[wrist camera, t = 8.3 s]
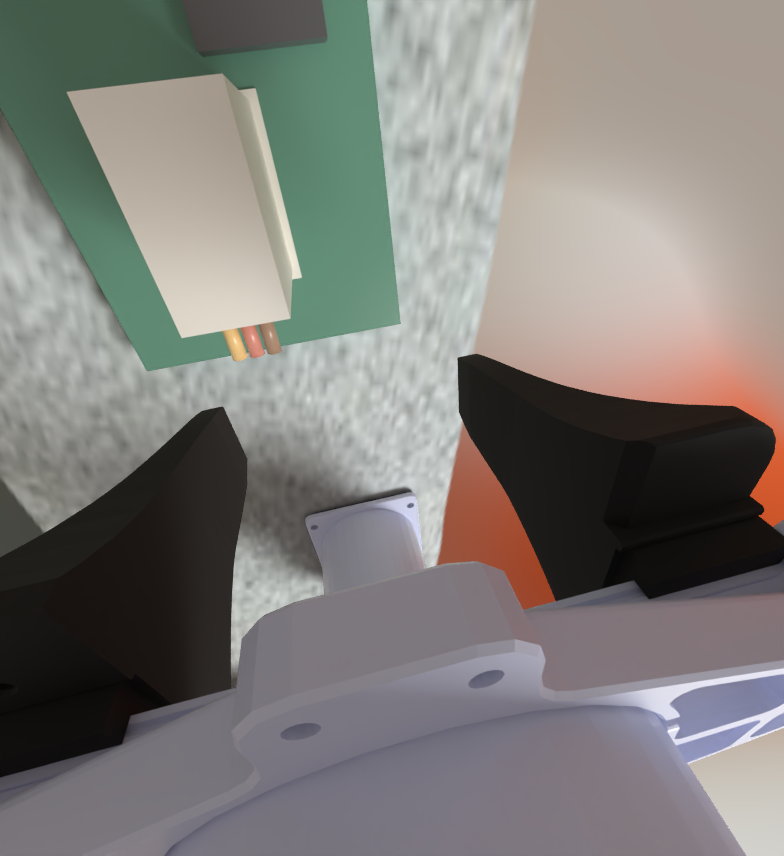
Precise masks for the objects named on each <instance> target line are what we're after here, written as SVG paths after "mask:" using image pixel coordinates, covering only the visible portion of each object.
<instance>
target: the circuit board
mask: <svg viewBox="0 0 784 856" xmlns="http://www.w3.org/2000/svg"><path fill="white" fill-rule="evenodd" d="M221 73H222V74H223V75H224V76H225V77H226V78H227V79H228V80H229V81H230V82H231V83H232V84H233V85H234V86H235V87H236V88H237V89H238V90H239V91H240V92H241V93H242V94H243V95H244V96H245V97H246V98H247V99H248V100H249V101H250V104H251V108H252V112H253V116H254V120H255V124H256V128H257V132H258V136H259V140H260V143H261V147H262V151H263V155H264V159H265V163H266V167H267V171H268V175H269V179H270V183H271V187H272V191H273V195H274V198H275V202H276V206H277V210H278V214H279V218H280V222H281V226H282V230H283V234H284V238H285V242H286V246H287V250H288V253H289V257H290V261H291V265H292V269H293V273H292V296H291V319H286V320H281V321H275V322H273V323H274V326H275V329H276V333H277V336H278V339H279V342H280V346H285V345H290V344H295V343H301V342H306V341H311V340H317V339H322V338H328V337H333V336H338V335H344V334H349V333H354V332H360V331H365V330H370V329H376V328H381V327H386V326H392V325H397V324H401V323H400V313H399V304H398V294H397V285H396V275H395V265H394V256H393V246H392V237H391V227H390V218H389V208H388V198H387V189H386V179H385V170H384V160H383V151H382V141H381V131H380V122H379V112H378V103H377V93H376V84H375V74H374V64H373V55H372V45H371V36H370V26H369V16H368V7H367V0H0V109H1V111H2V113H3V114H4V116H5V118H6V120H7V122H8V123H9V125H10V127H11V129H12V130H13V132H14V134H15V136H16V138H17V139H18V141H19V143H20V145H21V147H22V148H23V150H24V152H25V154H26V156H27V157H28V159H29V161H30V163H31V164H32V166H33V168H34V170H35V172H36V173H37V175H38V177H39V179H40V181H41V182H42V184H43V186H44V188H45V190H46V191H47V193H48V195H49V197H50V198H51V200H52V202H53V204H54V206H55V207H56V209H57V211H58V213H59V215H60V216H61V218H62V220H63V222H64V224H65V225H66V227H67V229H68V231H69V232H70V234H71V236H72V238H73V240H74V241H75V243H76V245H77V247H78V249H79V250H80V252H81V254H82V256H83V257H84V259H85V261H86V263H87V265H88V266H89V268H90V270H91V272H92V274H93V275H94V277H95V279H96V281H97V283H98V284H99V286H100V288H101V290H102V291H103V293H104V295H105V297H106V299H107V300H108V302H109V304H110V306H111V308H112V309H113V311H114V313H115V315H116V317H117V318H118V320H119V322H120V324H121V325H122V327H123V329H124V331H125V333H126V334H127V336H128V338H129V340H130V342H131V343H132V345H133V347H134V349H135V351H136V352H137V354H138V356H139V358H140V359H141V361H142V363H143V365H144V367H145V368H146V370H147V371H151V370H157V369H162V368H167V367H173V366H178V365H183V364H189V363H194V362H199V361H205V360H210V359H215V358H221V357H226V356H231V353H230V350H229V348H228V345H227V343H226V340H225V338H224V335H223V333H222V331H219V332H213V333H208V334H202V335H197V336H191V337H185V338H181V336H180V334H179V331H178V329H177V327H176V325H175V323H174V321H173V319H172V316H171V314H170V312H169V310H168V308H167V306H166V304H165V301H164V299H163V297H162V295H161V293H160V291H159V289H158V287H157V284H156V282H155V280H154V278H153V276H152V274H151V272H150V269H149V267H148V265H147V263H146V261H145V259H144V257H143V254H142V252H141V250H140V248H139V246H138V244H137V242H136V239H135V237H134V235H133V233H132V231H131V229H130V227H129V225H128V222H127V220H126V218H125V216H124V214H123V212H122V210H121V207H120V205H119V203H118V201H117V199H116V197H115V195H114V192H113V190H112V188H111V186H110V184H109V182H108V180H107V177H106V175H105V173H104V171H103V169H102V167H101V165H100V163H99V160H98V158H97V156H96V154H95V152H94V150H93V148H92V145H91V143H90V141H89V139H88V137H87V135H86V133H85V130H84V128H83V126H82V124H81V122H80V120H79V118H78V116H77V113H76V111H75V109H74V107H73V105H72V103H71V101H70V98H69V96H68V94H67V92H70V91H78V90H87V89H95V88H103V87H112V86H120V85H129V84H137V83H145V82H154V81H162V80H171V79H179V78H188V77H196V76H204V75H213V74H221ZM256 328H257V331H258V334H259V337H260V340H261V343H262V346H263V349H266V347H265V344H264V341H263V338H262V335H261V332H260V329H259V326H258V325H256ZM238 331H239V334H240V337H241V339H242V342H243V345H244V347H245V350H246V353H247V352H249V351H248V348H247V346H246V343H245V340H244V337H243V335H242V332H241V329H240V328H238Z"/></svg>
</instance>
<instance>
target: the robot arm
mask: <svg viewBox="0 0 784 856" xmlns="http://www.w3.org/2000/svg"><path fill="white" fill-rule="evenodd" d="M458 390H459V413H460V415H461V418H462V420H463V422H464V425H465V427H466V429H467V431H468V433H469V435H470V437H471V439H472V440H473V442H474V443H475V445H476V446H477V448H478V450H479V451H480V453H481V455H482V456H483V458H484V459H485V461H486V462H487V464H488V465H489V467H490V468H491V470H492V471H493V473H494V474H495V476H496V477H497V479H498V481H499V482H500V484H501V485H502V487H503V488H504V490H505V492H506V494H507V495H508V497H509V499H510V501H511V503H512V505H513V507H514V509H515V511H516V513H517V515H518V517H519V519H520V521H521V523H522V525H523V527H524V529H525V531H526V534H527V536H528V538H529V540H530V542H531V544H532V547H533V549H534V551H535V553H536V555H537V558H538V560H539V562H540V565H541V567H542V569H543V571H544V574H545V576H546V578H547V581H548V583H549V585H550V588H551V590H552V593H553V595H554V598H555V600H556V601H555V602H552V603H548V604H544V605H540V606H537V607H533V608H529V609H526V610H523V609H522V607H521V605H520V603H519V601H518V599H517V597H516V595H515V593H514V591H513V589H512V587H511V585H510V583H509V581H508V579H507V577H506V575H505V573H504V571H502V570H499V569H497V568H494V567H491V566H489V565H486V564H483V563H480V562H476V561H471V562H461V563H449V564H443V565H439V566H435V567H431V568H426V565H425V562H424V559H423V553H422V544H421V535H420V526H419V517H418V508H417V499H416V496H415V494H414V493H411V492H409V493H404V494H400V495H395V496H391V497H387V498H382V499H378V500H373V501H369V502H365V503H360V504H356V505H351V506H347V507H343V508H338V509H334V510H330V511H325V512H321V513H316V514H312V515H309V516H307V517H306V519H305V523H306V527H307V529H308V532H309V535H310V537H311V540H312V542H313V545H314V548H315V550H316V553H317V555H318V558H319V561H320V563H321V566H322V569H323V586H324V595H320V596H317V597H313V598H309V599H305V600H301V601H297V602H294V603H291V604H289V605H287V606H284V607H282V608H280V609H277V610H275V611H273V612H270V613H268V614H266V615H264V616H263V617H262V618H260V619H259V620H258V621H257V622H256V624H255V625H254V626H253V627H252V628H251V629H250V630H249V631H248V633H247V634H246V635H245V636H244V637H243V638H242V642H241V651H240V659H239V668H238V676H237V685H236V688H232V689H231V607H232V585H233V568H234V558H235V551H236V545H237V540H238V534H239V529H240V523H241V518H242V512H243V507H244V501H245V495H246V489H247V457H246V455H245V453H244V451H243V449H242V447H241V444H240V442H239V440H238V438H237V436H236V434H235V431H234V429H233V427H232V425H231V423H230V421H229V418H228V416H227V414H226V412H225V410H224V408H223V407H218V408H214V409H209V410H204V411H201V412H200V413H199V414H197V415H196V416H195V417H194V418H192V419H191V420H190V421H189V422H188V423H187V424H186V425H185V426H184V427H183V428H182V429H180V430H179V431H178V432H177V433H176V434H175V435H174V436H173V437H172V438H171V439H170V440H169V441H168V442H167V443H166V444H164V445H163V446H162V447H161V448H160V449H159V450H158V451H157V452H156V453H155V454H154V455H152V456H151V457H150V458H149V459H148V460H147V461H145V462H144V463H143V464H142V465H141V466H140V467H138V468H137V469H136V470H135V471H134V472H133V473H132V474H130V475H129V476H128V477H127V478H125V479H124V480H123V481H122V482H120V483H119V484H118V485H116V486H115V487H114V488H112V489H111V490H110V491H108V492H107V493H105V494H104V495H103V496H101V497H100V498H99V499H97V500H96V501H94V502H93V503H91V504H90V505H88V506H87V507H85V508H84V509H82V510H81V511H79V512H77V513H76V514H74V515H73V516H71V517H70V518H68V519H66V520H65V521H63V522H62V523H60V524H59V525H57V526H55V527H54V528H52V529H50V530H49V531H47V532H45V533H44V534H42V535H40V536H38V537H37V538H35V539H33V540H31V541H30V542H28V543H26V544H24V545H22V546H21V547H19V548H17V549H15V550H13V551H11V552H9V553H7V554H6V555H4V556H2V557H0V856H746V855H745V853H744V851H743V850H742V848H741V847H740V845H739V844H738V842H737V841H736V839H735V837H734V836H733V834H732V833H731V831H730V829H729V828H728V826H727V825H726V823H725V822H724V820H723V818H722V817H721V815H720V814H719V813H718V811H717V809H716V807H715V806H714V804H713V803H712V801H711V800H710V798H709V797H708V795H707V793H706V792H705V790H704V789H703V787H702V786H701V784H700V782H699V781H698V780H697V778H696V776H695V775H694V773H693V772H692V770H691V768H690V767H689V765H688V764H690V763H692V762H695V761H697V760H700V759H703V758H705V757H708V756H711V755H713V754H716V753H719V752H721V751H723V750H726V749H729V748H731V747H734V746H737V745H740V744H742V743H745V742H747V741H750V740H753V739H755V738H758V737H761V736H763V735H766V734H769V733H771V732H774V731H776V730H779V729H782V728H784V520H783V521H781V522H779V523H778V524H776V525H775V526H774V527H772V526H771V525H769V524H768V523H767V522H765V521H764V520H763V519H762V518H760V517H759V516H758V515H761V514H762V513H763V512H764V508H763V506H762V505H761V504H760V503H758V502H757V501H756V500H754V499H753V498H751V497H750V494H751V493H752V491H753V489H754V488H755V486H756V484H757V483H758V481H759V479H760V478H761V476H762V474H763V473H764V471H765V470H766V468H767V466H768V464H769V463H770V460H771V458H772V456H773V454H774V450H775V443H776V438H775V435H774V432H773V429H772V428H770V427H769V426H768V425H766V424H765V423H763V422H761V421H759V420H758V419H756V418H754V417H753V416H751V415H749V414H748V413H746V412H744V411H742V410H741V409H739V408H737V407H734V406H713V405H712V406H711V405H682V404H669V403H658V402H647V401H640V400H632V399H631V400H630V399H625V398H619V397H613V396H607V395H601V394H596V393H591V392H587V391H583V390H579V389H575V388H571V387H567V386H564V385H560V384H557V383H554V382H551V381H548V380H545V379H542V378H539V377H536V376H533V375H531V374H528V373H525V372H523V371H520V370H518V369H515V368H513V367H510V366H508V365H505V364H503V363H501V362H498V361H496V360H493V359H491V358H488V357H485V356H482V355H479V354H473V355H468V356H463V357H459V358H458ZM409 503H411V504H409ZM313 525H316V526H313Z"/></svg>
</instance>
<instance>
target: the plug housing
mask: <svg viewBox="0 0 784 856" xmlns="http://www.w3.org/2000/svg"><path fill="white" fill-rule="evenodd" d="M67 94H68V96H69V98H70V101H71V103H72V105H73V107H74V109H75V111H76V113H77V116H78V118H79V120H80V122H81V124H82V126H83V128H84V130H85V133H86V135H87V137H88V139H89V141H90V143H91V145H92V148H93V150H94V152H95V154H96V156H97V158H98V160H99V163H100V165H101V167H102V169H103V171H104V173H105V175H106V177H107V180H108V182H109V184H110V186H111V188H112V190H113V192H114V195H115V197H116V199H117V201H118V203H119V205H120V207H121V210H122V212H123V214H124V216H125V218H126V220H127V222H128V225H129V227H130V229H131V231H132V233H133V235H134V237H135V239H136V242H137V244H138V246H139V248H140V250H141V252H142V254H143V257H144V259H145V261H146V263H147V265H148V267H149V269H150V272H151V274H152V276H153V278H154V280H155V282H156V284H157V287H158V289H159V291H160V293H161V295H162V297H163V299H164V301H165V304H166V306H167V308H168V310H169V312H170V314H171V316H172V319H173V321H174V323H175V325H176V327H177V329H178V331H179V334H180V336H181V338H185V337H191V336H197V335H202V334H208V333H213V332H219V331H222V333H223V335H224V338H225V340H226V343H227V345H228V348H229V350H230V353H231V355H232V358H233V360H234V361H240V360H244V359H245V358H247V356H248V355H247V353H246V350H245V347H244V345H243V342H242V339H241V337H240V334H239V331H238V328H240V329H241V332H242V335H243V337H244V340H245V343H246V346H247V348H248V351H249V354H250V356H251V357H252V358H257V357H260V356H262V355H264V354H265V352H264V349H263V346H262V343H261V340H260V337H259V334H258V331H257V328H256V325H258V326H259V329H260V332H261V335H262V338H263V341H264V344H265V347H266V350H267V353H268V354H277V353H279V352H281V351H282V349H281V346H280V342H279V339H278V336H277V333H276V329H275V326H274V323H273V322H275V321H281V320H286V319H291V296H292V273H293V269H292V265H291V261H290V257H289V253H288V250H287V246H286V242H285V238H284V234H283V230H282V226H281V222H280V218H279V214H278V210H277V206H276V202H275V198H274V195H273V191H272V187H271V183H270V179H269V175H268V171H267V167H266V163H265V159H264V155H263V151H262V147H261V143H260V140H259V136H258V132H257V128H256V124H255V120H254V116H253V112H252V108H251V104H250V101H249V100H248V99H247V98H246V97H245V96H244V95H243V94H242V93H241V92H240V91H239V90H238V89H237V88H236V87H235V86H234V85H233V84H232V83H231V82H230V81H229V80H228V79H227V78H226V77H225V76H224V75H223V74H222V73H221V74H213V75H204V76H196V77H188V78H179V79H171V80H162V81H154V82H145V83H137V84H129V85H120V86H112V87H103V88H95V89H87V90H78V91H70V92H67Z"/></svg>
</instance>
